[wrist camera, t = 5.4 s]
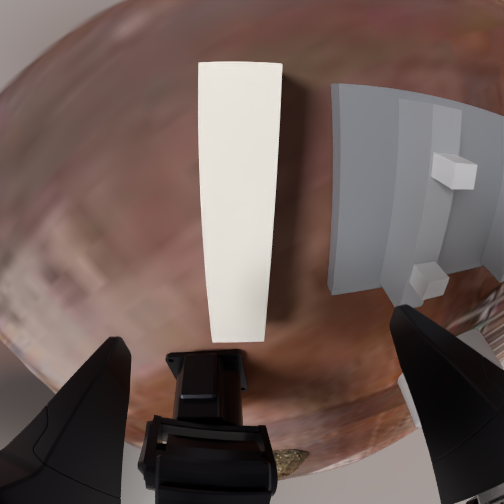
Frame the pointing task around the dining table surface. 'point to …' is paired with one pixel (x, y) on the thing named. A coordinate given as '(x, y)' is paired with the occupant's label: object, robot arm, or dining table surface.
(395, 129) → the grey pegged plate
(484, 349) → the white lego brick
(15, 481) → the robot arm
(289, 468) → the mottled brown rock
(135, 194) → the dining table surface
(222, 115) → the clay strip
